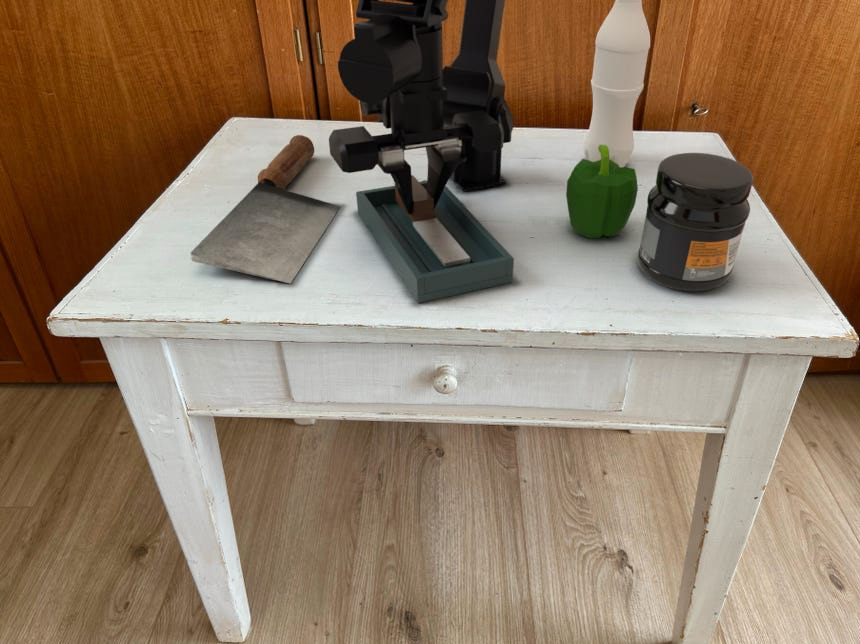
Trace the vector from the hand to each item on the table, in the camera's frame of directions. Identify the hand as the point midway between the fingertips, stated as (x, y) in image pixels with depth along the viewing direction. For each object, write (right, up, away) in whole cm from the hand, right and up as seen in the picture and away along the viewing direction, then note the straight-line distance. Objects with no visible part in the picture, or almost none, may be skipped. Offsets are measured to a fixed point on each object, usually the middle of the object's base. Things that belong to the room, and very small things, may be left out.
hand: (420, 210), depth 83 cm
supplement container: (+30, -8, -3) cm, 31 cm away
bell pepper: (+21, -2, +4) cm, 22 cm away
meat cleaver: (-17, +1, +6) cm, 18 cm away
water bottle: (+26, +11, +20) cm, 34 cm away
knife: (+1, -2, -1) cm, 3 cm away
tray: (+1, -4, 0) cm, 4 cm away
